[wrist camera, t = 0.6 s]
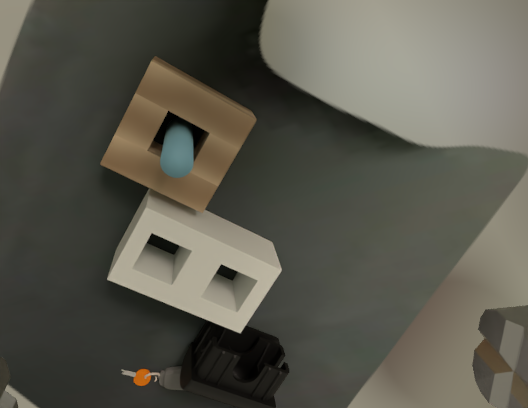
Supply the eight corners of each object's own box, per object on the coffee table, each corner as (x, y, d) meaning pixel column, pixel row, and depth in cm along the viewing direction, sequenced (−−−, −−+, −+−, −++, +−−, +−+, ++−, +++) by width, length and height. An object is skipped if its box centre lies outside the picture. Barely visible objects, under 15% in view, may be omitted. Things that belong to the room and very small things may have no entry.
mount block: (154, 55, 43) (151, 60, 40) (251, 110, 46) (256, 119, 43) (107, 151, 46) (99, 164, 42) (201, 197, 49) (202, 213, 45)
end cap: (179, 358, 56) (177, 402, 50) (207, 310, 54) (209, 349, 48) (254, 384, 59) (262, 428, 53) (284, 339, 57) (295, 380, 51)
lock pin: (173, 113, 45) (169, 140, 36) (197, 125, 46) (199, 155, 37) (161, 136, 46) (154, 168, 37) (185, 148, 47) (184, 183, 38)
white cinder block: (151, 183, 48) (146, 207, 42) (272, 242, 52) (282, 270, 46) (116, 249, 50) (106, 279, 44) (235, 299, 54) (240, 333, 48)
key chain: (214, 359, 57) (215, 368, 56) (213, 384, 59) (213, 393, 57) (99, 361, 55) (97, 370, 54) (101, 387, 57) (98, 397, 55)
